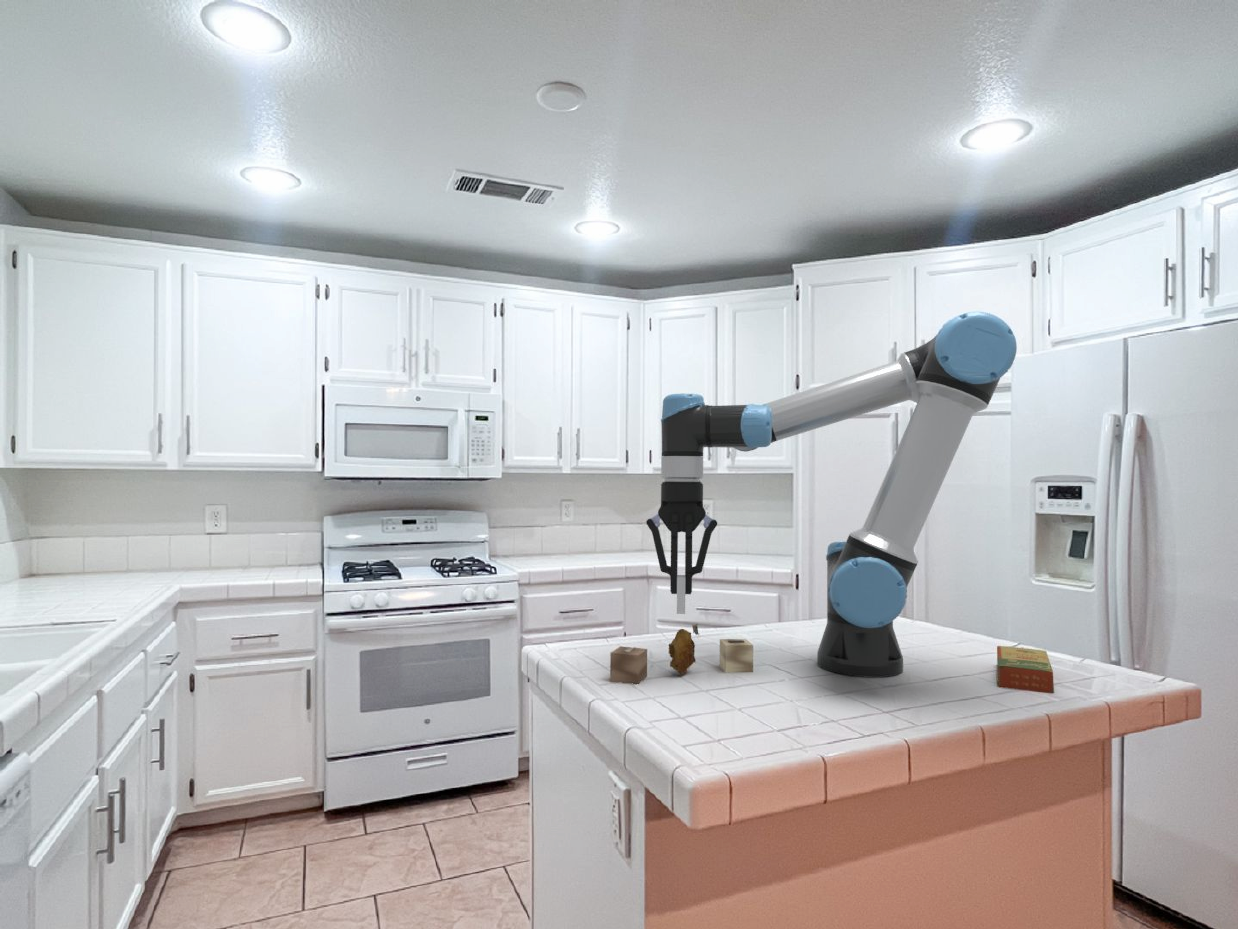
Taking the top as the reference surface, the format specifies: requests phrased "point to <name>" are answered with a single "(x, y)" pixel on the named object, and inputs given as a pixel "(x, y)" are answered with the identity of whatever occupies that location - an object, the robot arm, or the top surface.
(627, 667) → the block walnut
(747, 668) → the block maple
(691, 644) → the rock
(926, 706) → the top surface
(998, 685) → the carton
